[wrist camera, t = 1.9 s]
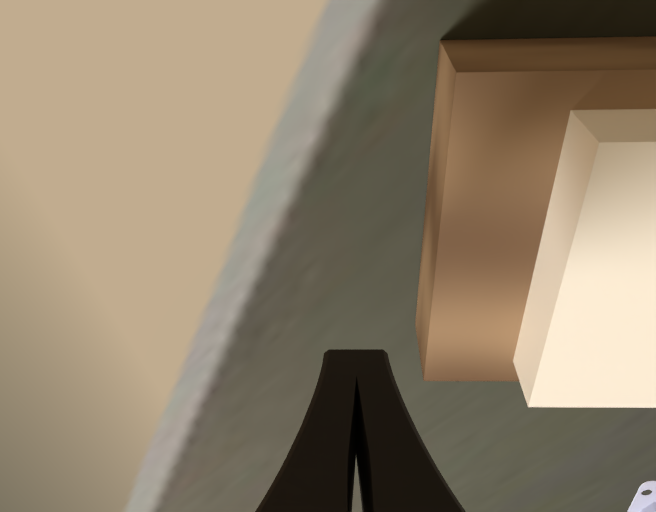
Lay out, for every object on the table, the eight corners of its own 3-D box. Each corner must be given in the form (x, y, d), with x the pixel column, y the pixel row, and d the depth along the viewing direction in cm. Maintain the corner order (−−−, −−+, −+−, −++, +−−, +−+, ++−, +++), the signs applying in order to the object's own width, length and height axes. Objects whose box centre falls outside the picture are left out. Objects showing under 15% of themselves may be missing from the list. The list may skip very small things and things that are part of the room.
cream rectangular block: (690, 361, 19) (721, 407, 18) (513, 361, 20) (528, 407, 18) (812, 106, 14) (873, 139, 13) (570, 110, 14) (599, 142, 13)
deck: (773, 324, 22) (826, 381, 20) (415, 324, 23) (423, 380, 20) (940, 31, 16) (1048, 63, 14) (439, 40, 16) (456, 72, 14)
